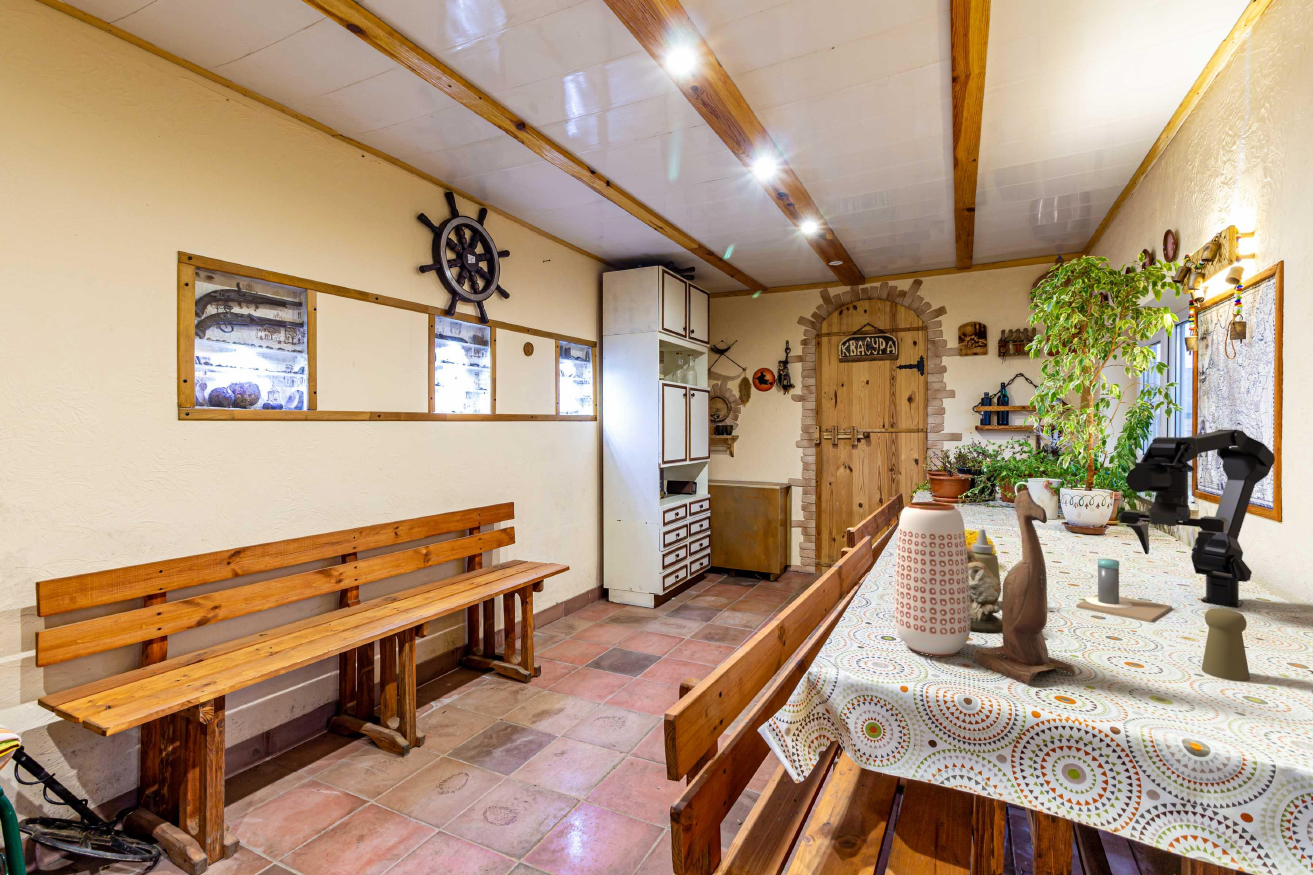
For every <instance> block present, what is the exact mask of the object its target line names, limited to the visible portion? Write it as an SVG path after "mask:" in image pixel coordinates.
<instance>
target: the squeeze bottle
mask: <svg viewBox="0 0 1313 875" xmlns="http://www.w3.org/2000/svg"><path fill="white" fill-rule="evenodd" d="M970 549H971V550H972V551H973V553H974V556H975V559H977V560H979V561H980V562H981V563H983V564H985V565H986V566H987V567H988V569H989V571H990V572H991V573H992V574H993V576H994V577H996V578H997V580H998V581H999V582H1000V585H999V587H1000V594H999V596H998V599H997V601H996V603H995V604H994V605H996V606H997V604H998V602H999V598H1000V597H1001V595H1002V594H1001V593H1002V586H1001V584H1002V583H1001V575H1000V567H999V561H998V559H999V558H998V556H997V555H996V554H995V553H993V552H994V545H993V544H989V541H988V538H987V534H986V530H985V529H979V530H978V535H977V539H976V542H975V543H974V542H973V543H971V548H970Z"/></svg>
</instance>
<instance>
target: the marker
mask: <svg viewBox="0 0 1313 875" xmlns="http://www.w3.org/2000/svg"><path fill="white" fill-rule="evenodd" d="M1097 595H1098V601H1099V602H1101V603H1105V604H1119V596H1120V561H1119V560H1117V559H1112V558H1098V559H1097Z"/></svg>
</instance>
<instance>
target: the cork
mask: <svg viewBox="0 0 1313 875" xmlns="http://www.w3.org/2000/svg"><path fill="white" fill-rule="evenodd" d="M1204 620H1205V624H1206V625H1207V627H1208V632H1207V638H1206V642H1205V648H1204V654H1203V660H1202V666H1201V670H1202V672H1204V674H1207V675H1209V676H1212V677H1215V678H1217V679H1223V680H1227V681H1234V682H1248V681H1250V680H1251V677H1250V671H1249V665H1248V659H1247V653H1246V648H1245V643H1244V638H1243V637H1244V636H1243V632H1245V630H1246V628H1247V625H1248V624H1247V623H1248V622H1247V619H1246V617H1245V616H1244V614H1241V612H1237V611H1235V610H1231V609H1225V608H1210V609H1208V610H1207V611H1206V612H1205V614H1204Z"/></svg>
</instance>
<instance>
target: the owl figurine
mask: <svg viewBox="0 0 1313 875" xmlns="http://www.w3.org/2000/svg"><path fill="white" fill-rule="evenodd" d="M967 559H968V574H969V597H970V632H972V633H973V632H974V633H982V634H984V633H987V632H988V633H989V634H996V633H1002V632H1003V623H1002V620H1000V618H999V617H997V615H994V614H997V613H1000V611H1001V609H1000V606H998V605H997V604H996V605H994V604H995V603H996V601H997V599H998V596H999V594H1000V587H999V585H1000V583H1001V581H1000V582H999V581H998V580H997V578H996V577H994V576H993V574H992V573H991V572H990V571H989V569H988V567H987V566H986V565H985V564H983V563H981V562H980V561H979V560H977V559H975V556H974V553H973V551H972V549H971V548H970V547H969V546H967ZM1000 595H1001V594H1000ZM999 597H1000V596H999ZM998 600H999V599H998Z"/></svg>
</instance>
